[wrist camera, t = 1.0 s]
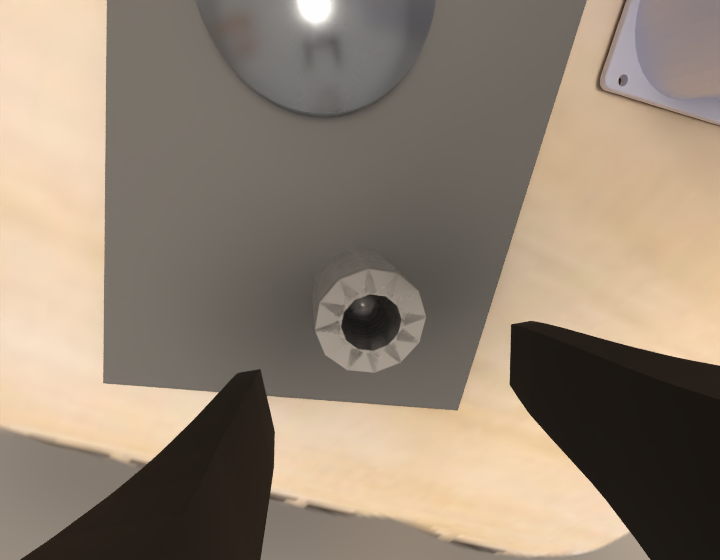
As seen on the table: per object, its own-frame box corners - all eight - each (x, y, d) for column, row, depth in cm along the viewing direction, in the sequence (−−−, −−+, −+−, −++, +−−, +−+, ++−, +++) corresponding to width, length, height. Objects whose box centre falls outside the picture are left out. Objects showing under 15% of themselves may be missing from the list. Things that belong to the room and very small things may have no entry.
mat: (599, -85, 16) (618, -102, 15) (451, 400, 22) (457, 410, 21) (125, -287, 12) (110, -326, 11) (113, 372, 18) (103, 383, 17)
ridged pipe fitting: (408, 256, 18) (436, 278, 14) (389, 335, 19) (410, 376, 15) (321, 241, 17) (326, 261, 13) (306, 325, 18) (307, 366, 14)
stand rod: (370, 281, 18) (380, 297, 16) (366, 303, 18) (375, 322, 16) (347, 278, 18) (354, 294, 16) (343, 300, 18) (349, 319, 16)
